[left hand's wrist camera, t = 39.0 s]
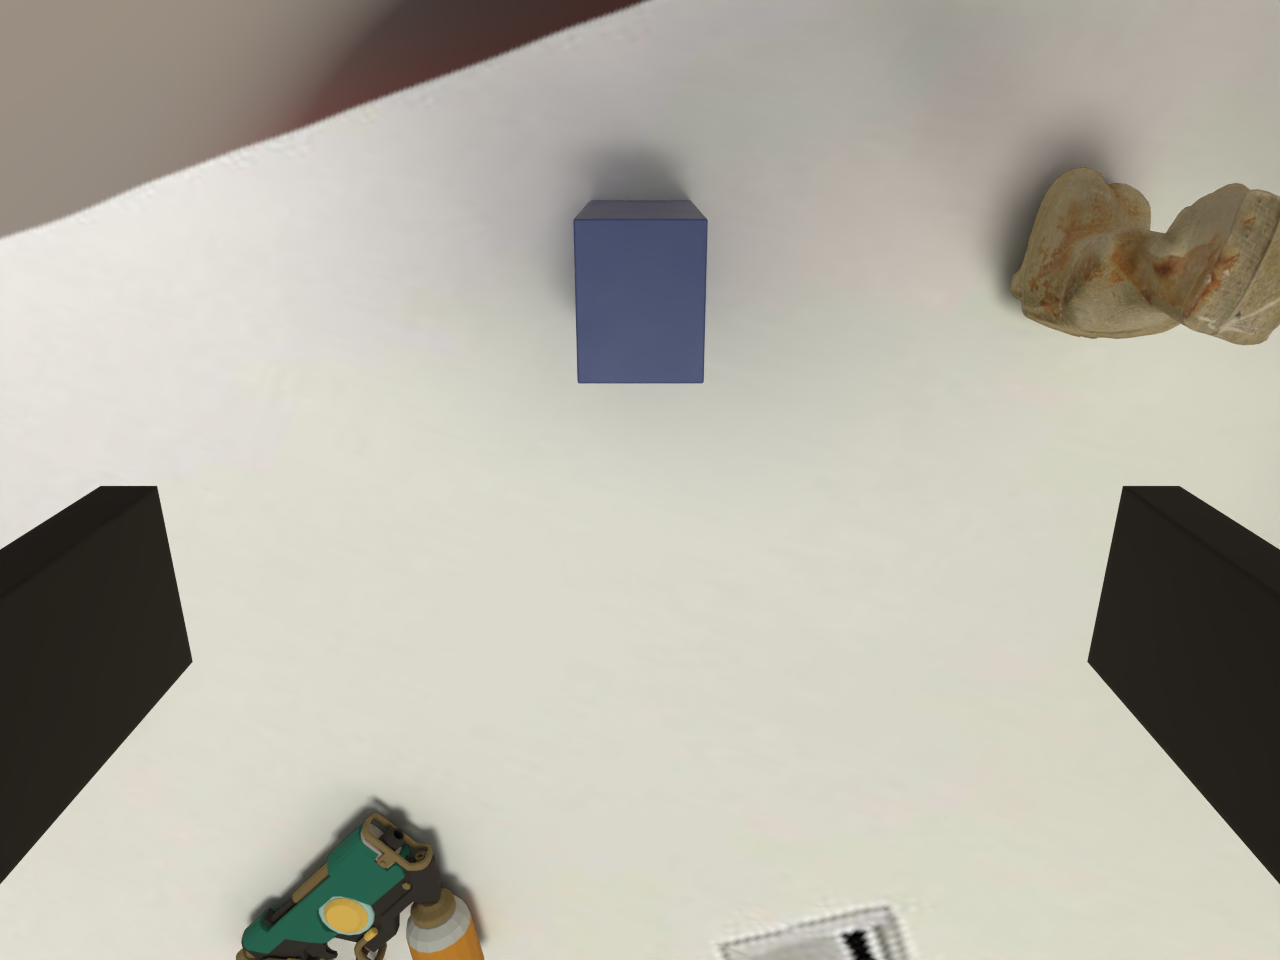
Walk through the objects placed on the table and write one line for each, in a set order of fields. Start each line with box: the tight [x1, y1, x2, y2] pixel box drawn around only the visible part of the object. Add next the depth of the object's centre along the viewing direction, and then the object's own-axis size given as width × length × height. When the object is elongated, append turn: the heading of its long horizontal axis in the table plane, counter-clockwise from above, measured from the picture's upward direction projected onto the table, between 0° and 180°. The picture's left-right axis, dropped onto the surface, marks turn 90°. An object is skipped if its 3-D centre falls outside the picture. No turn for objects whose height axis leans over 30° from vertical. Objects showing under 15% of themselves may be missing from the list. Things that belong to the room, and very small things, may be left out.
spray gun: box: [236, 813, 484, 960], centre depth 58 cm, size 4×17×15 cm
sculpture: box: [1010, 167, 1280, 345], centre depth 37 cm, size 6×7×15 cm
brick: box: [574, 201, 708, 383], centre depth 40 cm, size 5×6×12 cm
